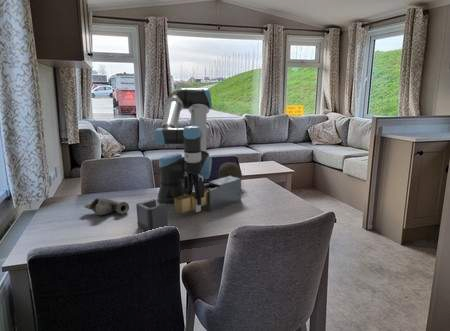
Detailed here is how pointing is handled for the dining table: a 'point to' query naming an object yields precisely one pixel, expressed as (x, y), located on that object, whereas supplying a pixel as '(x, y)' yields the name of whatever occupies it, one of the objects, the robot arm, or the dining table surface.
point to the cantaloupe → (229, 170)
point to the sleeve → (223, 192)
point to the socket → (151, 215)
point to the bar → (190, 201)
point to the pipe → (107, 206)
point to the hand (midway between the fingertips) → (194, 209)
